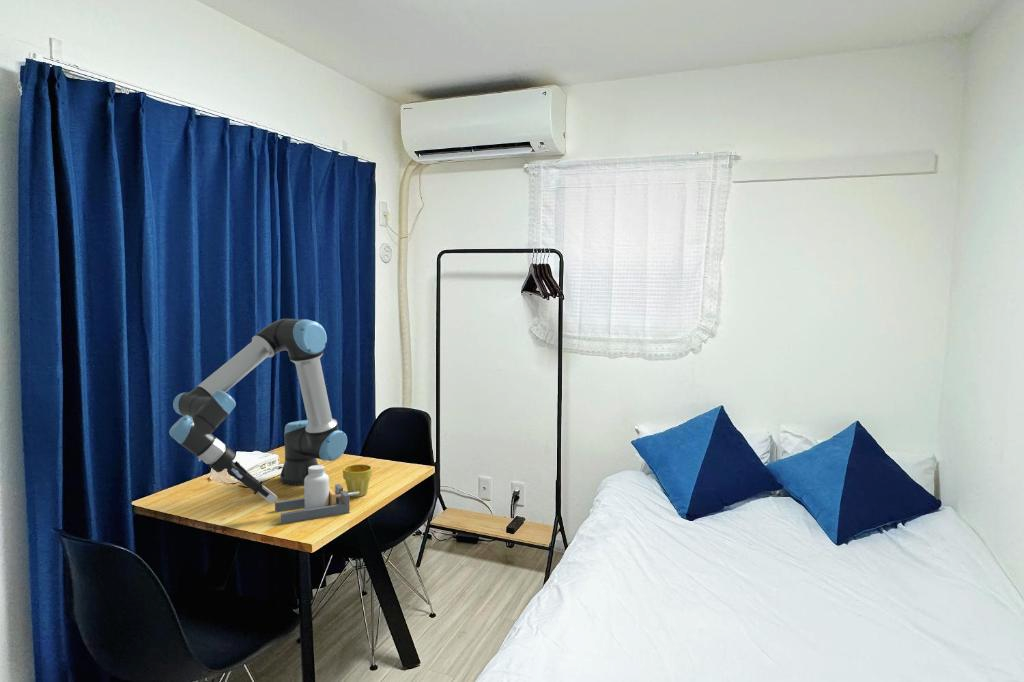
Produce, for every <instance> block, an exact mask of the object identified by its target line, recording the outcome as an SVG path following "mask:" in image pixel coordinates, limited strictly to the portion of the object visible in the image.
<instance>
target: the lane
mask: <svg viewBox="0 0 1024 682" xmlns="http://www.w3.org/2000/svg"><path fill="white" fill-rule="evenodd" d="M334 492H335V494H336V495H338V494H341V497H338V498H336V505H330V506H323V507H317V508H311V509H305V497H299V498H298V497H297V498H291V499H284V500H278V501H277V500H276V501H274V512H275V513H279V512H281V513H280V524H281V525H284V524H290V523H297V522H302V521H308V520H314V519H320V518H326V517H331V516H337V515H344V514H350V496H349V494H348V491H347V490H344V487H343V486H342V485H341V484H340V483H336V484H335V486H334ZM303 508H304V509H303ZM296 509H299V510H296ZM291 510H292V511H291ZM293 510H294V511H293ZM285 511H286V512H285Z"/></svg>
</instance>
